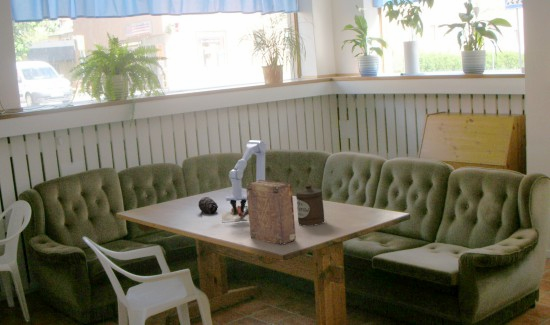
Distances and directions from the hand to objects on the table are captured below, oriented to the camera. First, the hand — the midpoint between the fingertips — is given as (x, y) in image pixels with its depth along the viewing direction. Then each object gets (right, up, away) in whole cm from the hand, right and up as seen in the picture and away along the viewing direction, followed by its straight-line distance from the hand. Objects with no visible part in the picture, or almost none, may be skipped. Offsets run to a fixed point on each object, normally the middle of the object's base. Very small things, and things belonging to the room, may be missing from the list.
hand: (239, 212), depth 428 cm
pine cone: (-19, -3, +24) cm, 31 cm away
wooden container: (+42, -5, -21) cm, 47 cm away
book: (+20, -11, -50) cm, 55 cm away
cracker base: (-1, -3, +9) cm, 9 cm away
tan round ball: (-3, -2, +13) cm, 14 cm away
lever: (+2, -1, +7) cm, 8 cm away
